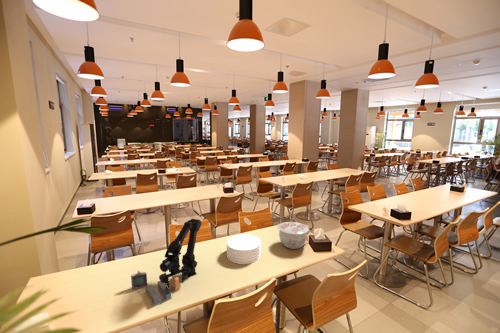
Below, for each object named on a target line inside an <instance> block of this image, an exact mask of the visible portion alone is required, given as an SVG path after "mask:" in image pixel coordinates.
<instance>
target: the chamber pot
mask: <svg viewBox="0 0 500 333" xmlns="http://www.w3.org/2000/svg"><path fill="white" fill-rule="evenodd" d="M277 229H278V230H279V231H278V236H279V240H280V242H281V244H282V245H283V246H284V247H286V248H287V249H291V250H297V249H300V248H302V247H303V246H304V245H305V244H306V241H307V238H308V235H309V234H310V231H311V228H310V226H309V225H308V224H303V223H301V222H297V221H284V222H281V223H279V224H278V225H277Z"/></svg>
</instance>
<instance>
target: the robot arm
mask: <svg viewBox="0 0 500 333" xmlns="http://www.w3.org/2000/svg"><path fill="white" fill-rule="evenodd" d="M201 226H202V221H201V219H199V218H198V219H197V218H191V219H189V220H187V221H184V223H183V226H182V228H181V230H180V231H179V232H178V235H177V236H176V238H175V239H174V240H172V241H171V242H170V243H169V245H168V246H167V249H166V252H165V254H164V258H165V259H163V260H162V262H161V263H160V264H159V270H160V271H161V272H162V274H160V275H159V276H158V278H159V281H161V282H162V283H165V285H166V286H167V288H168V289H170V286H171V285H170V281H169V280H170V279H169V278H172V276H174V275H176V276H177V275H179V274H181V283H182V284H183V283H184V282H185V279H186V278H190V277H192V276H195V275H197V272H196V268H197V265H198V261H196V259H195V258H196V257H195V254H194V253H195V252H194V251H195V247H196V241H197V236H198V232H199V231H200V229H201ZM188 234H189V237H188V242H187V246H186V252H185V253H184V254H183V255H182V252H181V250H182V248H183V243H184V240H185V239H186V237H187V235H188ZM180 255H182V256H181V257H182V258H181V264H182V266H181V265H180ZM166 272H169V273H168V274H167V273H166Z"/></svg>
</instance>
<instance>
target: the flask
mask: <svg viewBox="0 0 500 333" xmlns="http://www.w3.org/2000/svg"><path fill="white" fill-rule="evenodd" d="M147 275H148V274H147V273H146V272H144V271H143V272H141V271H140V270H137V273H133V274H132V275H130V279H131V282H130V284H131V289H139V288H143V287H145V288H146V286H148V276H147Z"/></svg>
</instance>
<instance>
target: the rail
mask: <svg viewBox="0 0 500 333" xmlns="http://www.w3.org/2000/svg"><path fill="white" fill-rule="evenodd" d="M145 290H146V294H147V295H148V297H149V299H150V300H151V302H152V304H153V306H154V307H156V306H158V305H161V304H163V303H164V302H166V301H169V300H171V299H172V292H171V290H170V288H168V287H167V284H166V283H162V282H161V281H160V280H158V281H157V286H154V287H153V285H152V284H151V283H150V284H147V286H145Z"/></svg>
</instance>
